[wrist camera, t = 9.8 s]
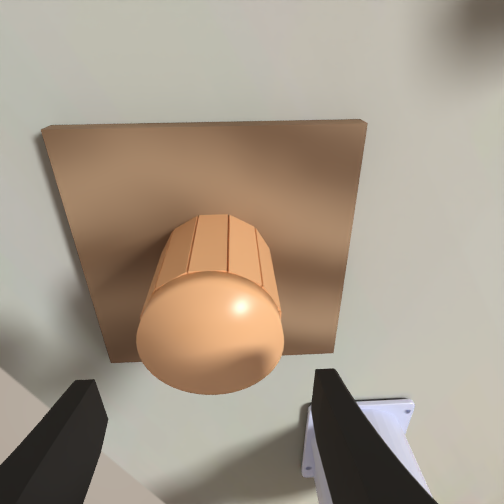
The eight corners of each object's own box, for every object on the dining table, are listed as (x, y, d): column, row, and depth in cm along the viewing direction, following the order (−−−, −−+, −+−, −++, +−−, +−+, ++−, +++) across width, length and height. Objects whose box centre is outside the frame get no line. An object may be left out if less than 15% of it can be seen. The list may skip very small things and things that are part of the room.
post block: (329, 341, 23) (351, 408, 19) (115, 351, 23) (88, 422, 18) (360, 119, 16) (406, 145, 12) (51, 125, 16) (-18, 154, 11)
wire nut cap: (268, 302, 20) (281, 391, 15) (170, 306, 20) (148, 397, 15) (270, 213, 17) (287, 283, 12) (155, 216, 17) (122, 290, 12)
